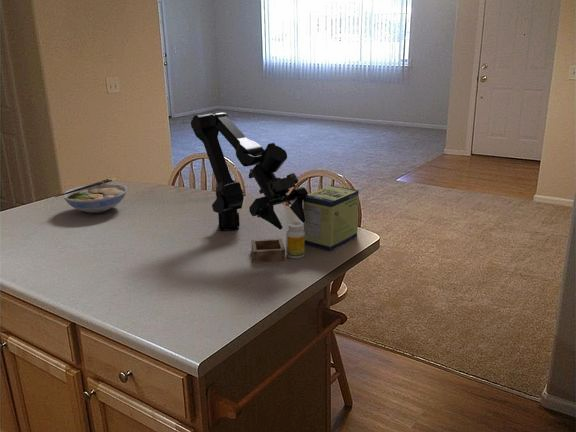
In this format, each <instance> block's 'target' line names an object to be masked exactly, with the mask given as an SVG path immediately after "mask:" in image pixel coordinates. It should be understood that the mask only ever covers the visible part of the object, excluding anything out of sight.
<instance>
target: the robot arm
mask: <svg viewBox="0 0 576 432" xmlns="http://www.w3.org/2000/svg"><path fill="white" fill-rule="evenodd" d="M190 125H191V128H192V131H193V133H194V135H195V137H196V138H197V139H199V140H200V141H201V143H203V146H204V149H205V151H206V155H207V157H208V160H209V163H210V165H211V169H212V172H213V175H214V178H215V180H216V185H217V186H216V188H215V196H216V199H215V200H214V201H213V203H212V205H211V208H212V210H213V212H215V213H218V214H217V218H218V231H219V232H220V231H221V232H223V231H238V230H239V227H240V226H241V223H240V212H239V211H238V210H241V209H242V208H243V204H244V200H245V196H244V194H245V193H244V191H243V189H242V185H241V183H240V182H239V181H234V179H232V176H231V175H232V174H231V173H230V170H229V167H228V163H227V161H226V159H225V155H224V153H223V149H222V147H221V144H220V140H219V138H218V137H219V133H220V134H221V135H222V136H223V137H224V138H225V139H226V141H227V142H229V144H230V145H231V146H232V147H233V149H234V150H235V156H236V158H237V159H238V161H239V162H240V164H241V165H242V166H243V167H244V168H245V167H247V168H248V167H252V166H253V168H250V169H249V173H248V179H253V178H254V180H255V182H256V184H257V185H258V187H259V188H260V189H259V191H258V192H259V194H260V195H263V196H261V197H257V198H255V199H254V201H253V202H252V203H251V205H250V206H249V208H248V209H249V213H250V215H251V216H252V217H257V218H261V219H262V220H264V221H267V222H268V223H269V224H271V225H272V226H274V227H275V228H277V229H278V230H282V229H283V226H282V223H281V221H280V219H279V217H278V216H277V214H276V212H275V210H274V209H275V208H274V206H277V205H281V204H285V203H287V204H289V205H290V206H289V208H290V210H291V211H292V212H293V214H294V215H295V216H296V217H297V218H298V219H299V220H300V221H301V223H303V222H305V216H304V211H303V200H304V198H305V195H307V194H309V192H308V191H307V189H306V187H303V186H301V187H297V186H296V184H298V183H299V179H298V176H297V175H296V174H295V172H293V173H289V174H287V175H286V177H282V178H281V177H277V176H276V174H275V173H277V171H279V169H281V167H282V166H283V164H284V163H285V162H286V161H287V159H288V154H287V151H286V150H285V149H283V148H282V147H281V146H279V145H276V143H275V142H271V143H268V144H267V146H266V147H265V148H263V146H261V145H260V144H259V142H258V143H257V141H254V140H251V139H249V138H248V137H247V136H245V134H244V133H243V132H242V131H241V130H240V129H239V128H238V127H237V125H236V124H235V123H234V122H233V121H232V120H231V119H230V118H229V115H228V114H227V112H223V111H221V112H213V113H204V114H195V115H194V116H193V117H192V119H191V120H190ZM295 187H297V188H295ZM291 188H293V189H292V190H291ZM290 190H291V192H290ZM289 192H290V193H289Z"/></svg>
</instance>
